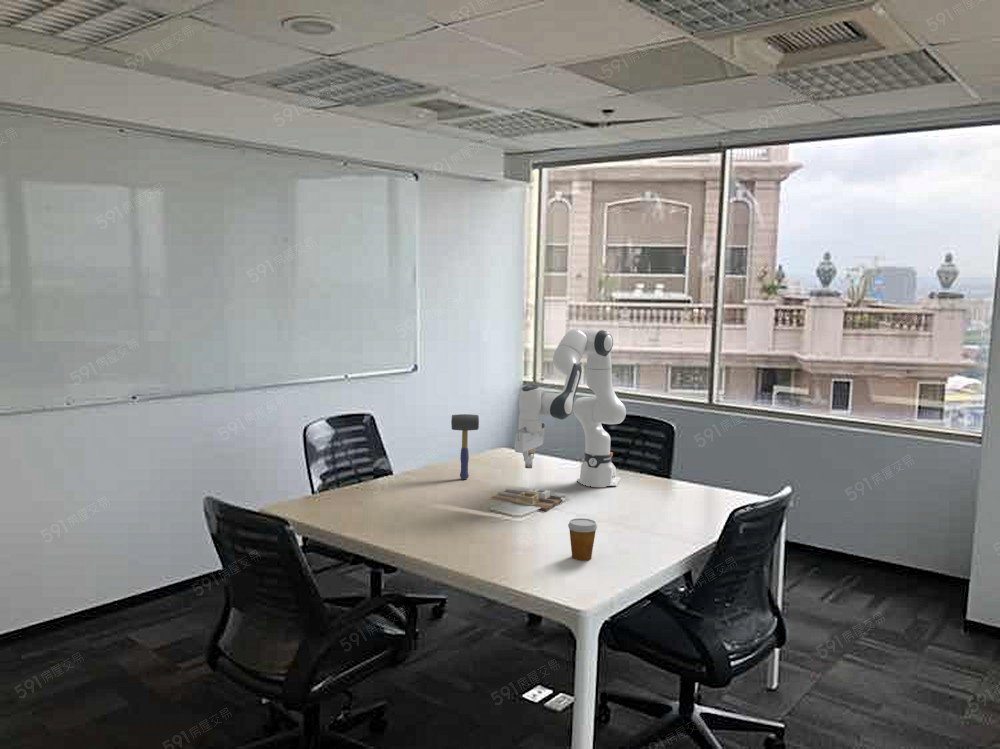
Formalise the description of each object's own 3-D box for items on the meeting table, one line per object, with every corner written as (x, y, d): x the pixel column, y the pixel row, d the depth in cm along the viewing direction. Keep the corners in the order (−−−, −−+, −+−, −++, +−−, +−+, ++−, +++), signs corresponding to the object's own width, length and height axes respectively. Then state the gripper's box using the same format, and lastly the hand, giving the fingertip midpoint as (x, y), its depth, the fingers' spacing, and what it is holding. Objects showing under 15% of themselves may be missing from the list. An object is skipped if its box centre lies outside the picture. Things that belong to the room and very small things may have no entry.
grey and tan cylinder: (526, 466, 323) (527, 445, 323) (534, 467, 322) (535, 446, 321) (522, 467, 320) (523, 447, 319) (530, 469, 319) (531, 448, 318)
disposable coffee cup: (593, 553, 267) (595, 517, 266) (598, 562, 258) (599, 526, 256) (565, 552, 267) (566, 517, 265) (568, 562, 257) (569, 526, 256)
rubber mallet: (477, 477, 369) (478, 412, 366) (478, 481, 362) (479, 415, 359) (450, 477, 368) (451, 412, 365) (450, 481, 361) (451, 415, 357)
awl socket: (523, 499, 327) (523, 491, 327) (539, 501, 324) (539, 494, 324) (516, 502, 321) (516, 495, 321) (531, 505, 318) (532, 498, 318)
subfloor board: (505, 493, 341) (506, 488, 340) (562, 502, 329) (562, 496, 328) (488, 502, 327) (488, 496, 326) (546, 511, 315) (546, 505, 314)
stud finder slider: (532, 494, 333) (532, 487, 333) (550, 496, 329) (550, 489, 329) (527, 496, 329) (527, 489, 328) (545, 499, 325) (545, 492, 325)
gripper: (525, 430, 309) (524, 465, 310) (547, 423, 327) (546, 456, 328) (510, 429, 311) (510, 463, 313) (533, 421, 330) (532, 454, 331)
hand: (528, 460), depth 321 cm, fingers closed on grey and tan cylinder, 3 cm apart
